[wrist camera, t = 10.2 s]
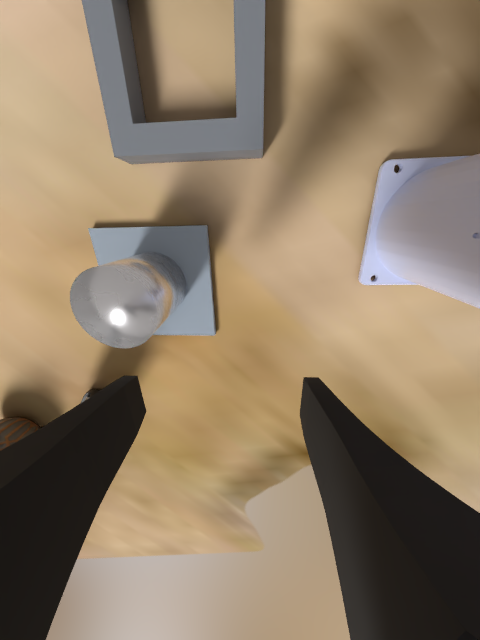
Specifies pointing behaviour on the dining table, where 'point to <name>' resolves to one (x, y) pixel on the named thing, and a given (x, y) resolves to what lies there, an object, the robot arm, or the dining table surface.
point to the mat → (182, 248)
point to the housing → (176, 136)
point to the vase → (15, 430)
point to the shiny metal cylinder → (127, 298)
